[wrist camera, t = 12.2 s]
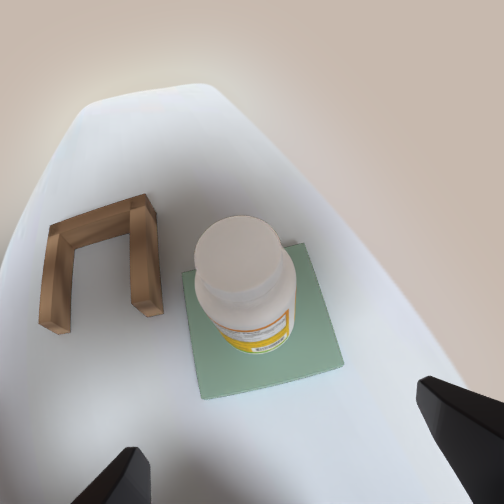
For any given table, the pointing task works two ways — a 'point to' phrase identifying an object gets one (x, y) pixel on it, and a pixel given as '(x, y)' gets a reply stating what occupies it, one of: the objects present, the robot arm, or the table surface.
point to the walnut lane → (92, 231)
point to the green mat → (271, 363)
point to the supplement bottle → (246, 283)
